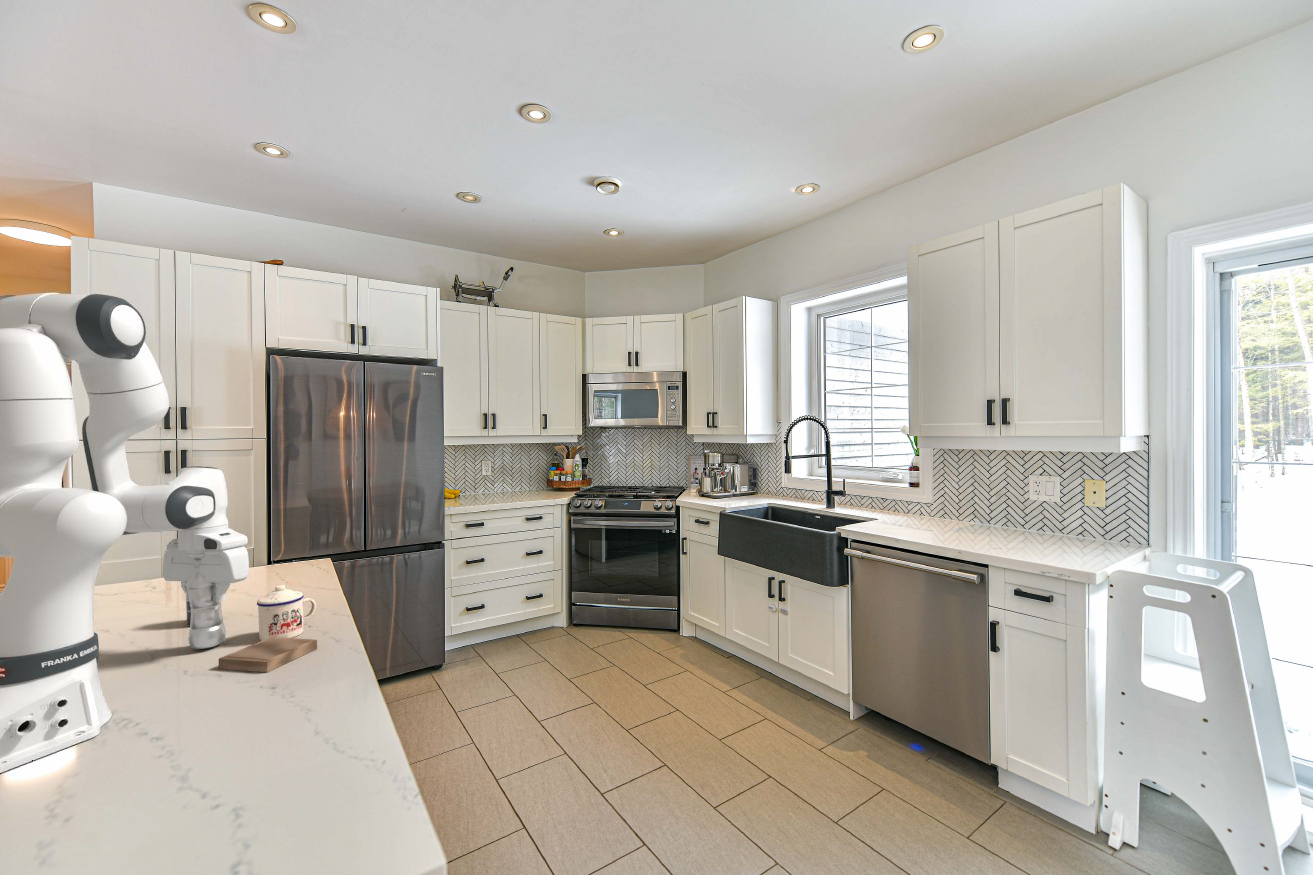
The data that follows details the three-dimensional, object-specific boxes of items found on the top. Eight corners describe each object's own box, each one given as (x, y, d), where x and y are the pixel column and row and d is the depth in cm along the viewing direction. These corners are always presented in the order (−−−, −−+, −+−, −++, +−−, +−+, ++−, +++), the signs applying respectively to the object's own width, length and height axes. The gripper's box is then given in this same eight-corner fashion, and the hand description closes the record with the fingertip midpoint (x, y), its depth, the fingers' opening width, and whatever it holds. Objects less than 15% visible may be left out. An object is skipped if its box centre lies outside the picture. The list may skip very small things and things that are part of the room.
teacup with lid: (267, 645, 125) (265, 593, 125) (251, 637, 130) (250, 587, 130) (324, 629, 135) (323, 581, 134) (308, 622, 140) (306, 576, 140)
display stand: (267, 672, 110) (267, 661, 110) (218, 668, 113) (218, 657, 113) (317, 648, 122) (316, 639, 122) (272, 645, 125) (271, 636, 125)
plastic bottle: (233, 641, 128) (230, 553, 128) (207, 653, 121) (204, 560, 121) (208, 641, 128) (205, 554, 128) (180, 652, 122) (176, 560, 122)
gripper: (152, 541, 124) (154, 603, 124) (226, 542, 119) (228, 607, 119) (182, 536, 130) (184, 595, 130) (253, 537, 125) (255, 598, 125)
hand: (206, 601), depth 125 cm, fingers closed on plastic bottle, 6 cm apart
